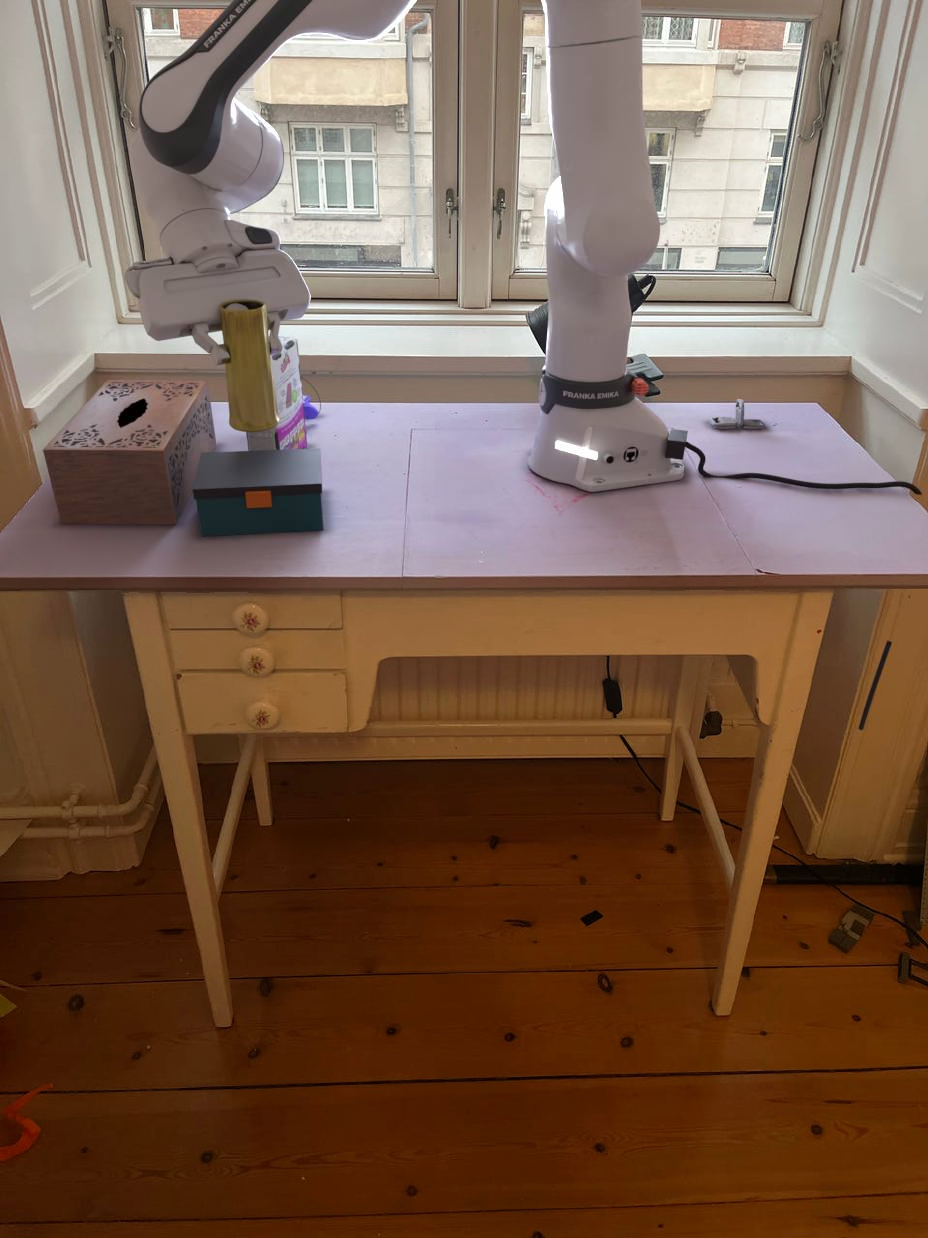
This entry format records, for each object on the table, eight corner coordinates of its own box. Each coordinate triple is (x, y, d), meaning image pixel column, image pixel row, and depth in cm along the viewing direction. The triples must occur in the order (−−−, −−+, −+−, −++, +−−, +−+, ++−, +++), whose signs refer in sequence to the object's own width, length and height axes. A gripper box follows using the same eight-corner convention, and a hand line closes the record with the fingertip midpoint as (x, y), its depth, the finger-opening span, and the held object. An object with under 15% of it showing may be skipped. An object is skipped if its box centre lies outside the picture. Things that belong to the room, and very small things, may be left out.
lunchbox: (323, 491, 127) (320, 446, 123) (325, 532, 116) (321, 485, 113) (207, 496, 125) (201, 451, 121) (199, 539, 114) (191, 491, 111)
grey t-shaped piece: (713, 429, 149) (718, 403, 146) (708, 422, 151) (712, 397, 149) (765, 428, 149) (770, 403, 147) (759, 422, 152) (764, 396, 149)
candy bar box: (277, 443, 141) (266, 334, 132) (308, 446, 140) (299, 336, 131) (248, 472, 131) (234, 357, 123) (281, 475, 131) (270, 360, 122)
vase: (290, 423, 114) (280, 305, 106) (249, 436, 110) (235, 314, 102) (260, 411, 117) (248, 295, 110) (219, 423, 114) (203, 304, 106)
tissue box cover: (119, 445, 139) (106, 380, 133) (216, 445, 139) (207, 380, 134) (61, 523, 117) (42, 449, 112) (176, 524, 118) (163, 450, 112)
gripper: (121, 246, 102) (169, 357, 101) (288, 229, 112) (333, 329, 111) (115, 280, 108) (160, 386, 106) (275, 260, 118) (317, 357, 117)
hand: (250, 357), depth 109 cm, fingers closed on vase, 5 cm apart
